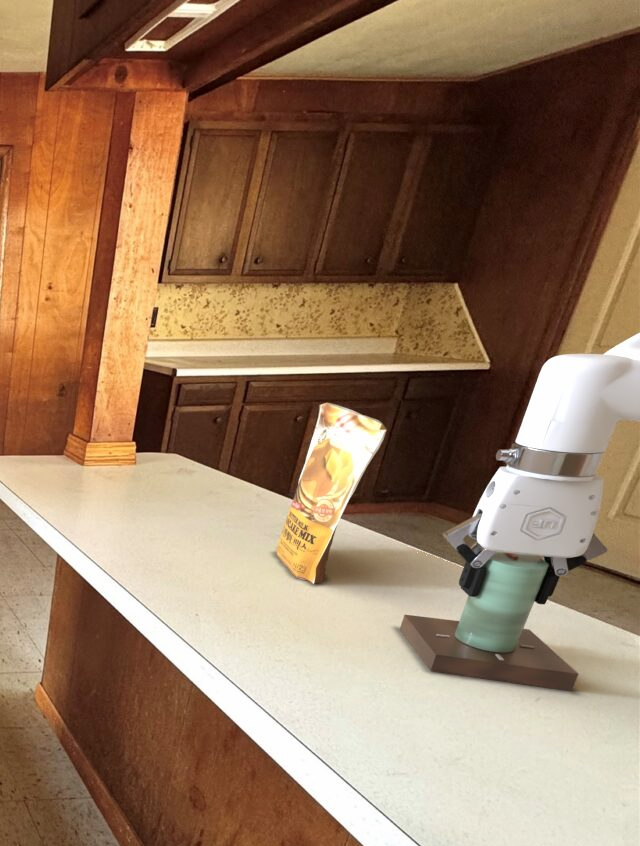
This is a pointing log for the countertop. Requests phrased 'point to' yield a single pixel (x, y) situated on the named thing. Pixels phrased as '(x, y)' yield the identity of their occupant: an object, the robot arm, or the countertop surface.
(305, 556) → the pancake mix bag
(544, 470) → the robot arm
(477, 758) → the countertop surface
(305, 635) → the countertop surface
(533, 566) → the mint green cylinder
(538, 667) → the dark brown slab
